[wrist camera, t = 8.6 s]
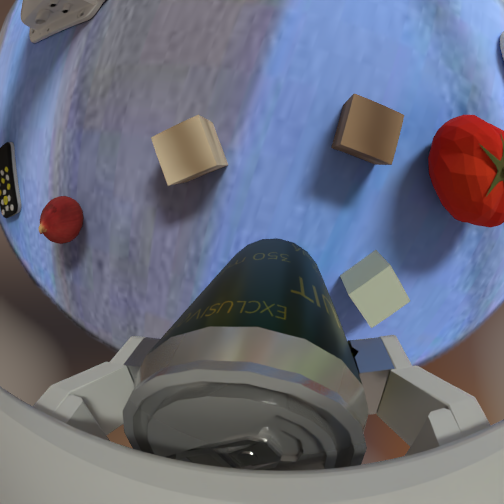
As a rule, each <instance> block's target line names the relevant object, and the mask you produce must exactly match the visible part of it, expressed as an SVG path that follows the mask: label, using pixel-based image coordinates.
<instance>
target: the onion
mask: <svg viewBox="0 0 504 504" xmlns="http://www.w3.org/2000/svg"><path fill="white" fill-rule="evenodd" d="M82 225H83V211H82V209H81V207H80V205H79V204H78V203H77V202H76V201H75V200H74V199H72V198H70V197H67V196H60V197H57V198H54V199H52V200H51V201H50V202H48V204H47V205H46V206H45V208H44V209H43V211H42V213H41V217H40V226H39V232H40V234H42V233H43V234H44V236H45V237H46V238H48V239H49V240H50V241H52V242H55V243H59V244H62V243H67V242H70V241H72V240H73V239H74V238H75V237H76V236H77V235H78V234H79V232H80V230H81V227H82Z"/></svg>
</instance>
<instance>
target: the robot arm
mask: <svg viewBox="0 0 504 504" xmlns="http://www.w3.org/2000/svg"><path fill="white" fill-rule="evenodd" d="M104 1H105V0H23V3H22V9H21V20H22V22H23V23H24V24H25V25H27V26H28V27H30V33H29V35H30V40H31V42H33V43H37V42H39V41H41V40H43V39H45V38H47V37H49V36H51V35H53V34H55V33H58V32H60V31H62V30H64V29H67V28H69V27H72V26H74V25H77V24H79V23H82V22H84V21H87V20H89V19H91V18H92V17H93V16H94V15H95V14H96V12H97V11H98V9H99V8H100V7H101V5H102V4H103V2H104ZM159 340H160V339H157V338H149V337H140V336H132V337H130V339H129V340H128V341H127V342H126V343H125V345H124V346H123V347H122V348H121V349H120V351H119V352H118V353H117V354H116V355H115V357H114V358H113V359H112V360H111V361H110V362H105V363H102V364H100V365H98V366H95V367H93V368H91V369H89V370H86V371H84V372H82V373H79V374H77V375H75V376H72V377H70V378H68V379H65V380H63V381H60V382H58V383H56V384H53V385H51V386H50V387H49V388H48V390H47V391H46V392H45V393H44V394H43V395H42V396H41V397H40V399H39V400H38V401H37V402H36V403H35V404H34V405H33V406H31V405H29V404H27V403H25V402H24V401H22V400H20V399H19V398H17V397H15V396H14V395H12V394H11V393H9V392H8V391H6V390H5V389H3V388H1V387H0V504H504V420H502V421H500V422H498V423H496V424H494V425H492V426H490V424H489V422H488V420H487V418H486V416H485V414H484V413H483V411H482V409H481V407H480V405H479V404H478V402H477V400H476V399H475V397H474V396H472V395H470V394H468V393H466V392H464V391H462V390H460V389H459V388H456V387H455V386H453V385H451V384H449V383H447V382H445V381H444V380H442V379H440V378H438V377H436V376H435V375H433V374H431V373H429V372H427V371H425V370H424V369H422V368H420V367H418V366H412V365H411V363H410V361H409V359H408V357H407V355H406V353H405V352H404V350H403V348H402V346H401V344H400V342H399V341H398V339H397V337H396V336H395V335H388V336H381V337H377V338H368V339H358V340H348V345H349V348H350V350H351V353H352V356H353V359H354V362H355V364H356V367H357V370H358V373H359V376H360V379H361V382H362V385H363V388H364V393H365V397H366V401H367V406H368V410H369V413H368V414H376V413H377V415H378V416H379V417H380V418H381V419H382V420H383V421H384V422H385V423H386V424H387V425H388V426H389V427H390V428H391V429H392V430H393V431H394V432H395V433H397V434H398V435H399V436H400V437H401V438H402V439H403V440H404V441H405V442H406V443H407V444H408V445H409V446H410V449H409V450H408V452H407V453H406V455H405V456H403V457H399V458H395V459H390V460H385V461H380V462H375V463H370V464H363V465H356V466H349V467H340V468H330V469H317V470H294V471H273V470H249V469H236V468H226V467H218V466H210V465H203V464H197V463H191V462H186V461H180V460H176V459H171V458H166V457H162V456H158V455H154V454H150V453H146V452H142V451H139V450H135V449H132V448H129V447H125V446H122V445H119V444H116V443H113V442H110V440H109V439H108V437H107V436H106V435H108V434H109V433H111V432H112V431H114V430H115V429H117V428H118V427H119V426H121V425H122V424H124V423H123V409H124V407H125V405H126V403H127V401H128V399H129V397H130V395H131V393H132V391H133V390H134V378H135V376H136V374H137V372H138V370H139V368H140V366H141V364H142V362H143V361H144V359H145V357H146V355H147V354H148V353H149V352H150V351H151V349H152V348H153V347H154V346H155V345H156V344H157V343H158V341H159Z"/></svg>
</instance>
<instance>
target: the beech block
mask: <svg viewBox="0 0 504 504" xmlns="http://www.w3.org/2000/svg"><path fill="white" fill-rule="evenodd" d="M151 139H152V142H153V145H154V148H155V151H156V154H157V157H158V159H159V162H160V165H161V168H162V171H163V173H164V176H165V179H166V182H167V184H168V186H169V185H174V184H179V183H184V182H188V181H190V180H192V179H195V178H197V177H200V176H202V175H205V174H207V173H210V172H212V171H215V170H217V169H220V168H222V167H225V166H228V163H227V160H226V158H225V155H224V152H223V150H222V147H221V144H220V142H219V139H218V136H217V134H216V131H215V128H214V125H213V123H212V122H211V121H209V120H207V119H205V118H203V117H201V116H200V115H197V116H195V117H192V118H190V119H188V120H186V121H184V122H182V123H179V124H177V125H175V126H173V127H171V128H169V129H167V130H165V131H163V132H161V133H159V134H157V135H155V136H153V137H151Z"/></svg>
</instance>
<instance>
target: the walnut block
mask: <svg viewBox="0 0 504 504" xmlns="http://www.w3.org/2000/svg"><path fill="white" fill-rule="evenodd" d="M403 118H404V115H403V114H401V113H399V112H397V111H394V110H392V109H390V108H388V107H386V106H383V105H381V104H379V103H376V102H374V101H372V100H369V99H367V98H364V97H362V96H359V95H357V94H353V95H352V96H351V97H350V98H349V99H348V100H347V101H346V103H345V104H344V105H343V108H342V112H341V115H340V119H339V123H338V126H337V130H336V133H335V137H334V140H333V144H332V147H331V148H333V149H336V150H339V151H341V152H344V153H347V154H350V155H352V156H355V157H358V158H360V159H363V160H365V161H368V162H370V163H373V164H378V165H392V162H393V158H394V154H395V151H396V147H397V143H398V139H399V135H400V131H401V127H402V123H403Z"/></svg>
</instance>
